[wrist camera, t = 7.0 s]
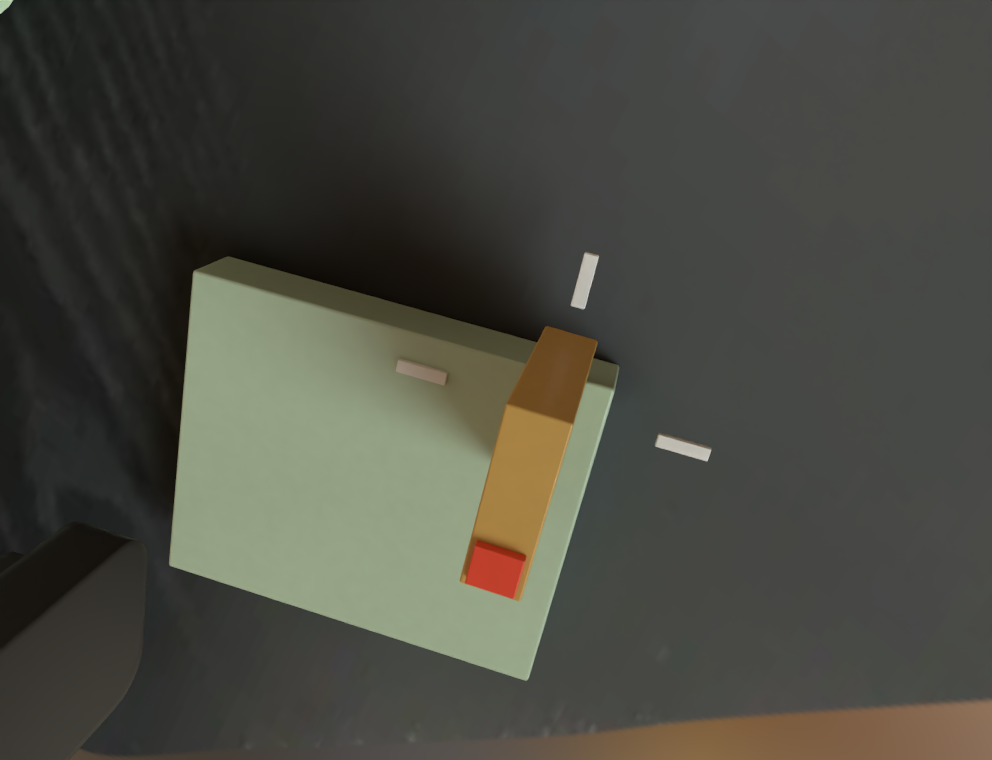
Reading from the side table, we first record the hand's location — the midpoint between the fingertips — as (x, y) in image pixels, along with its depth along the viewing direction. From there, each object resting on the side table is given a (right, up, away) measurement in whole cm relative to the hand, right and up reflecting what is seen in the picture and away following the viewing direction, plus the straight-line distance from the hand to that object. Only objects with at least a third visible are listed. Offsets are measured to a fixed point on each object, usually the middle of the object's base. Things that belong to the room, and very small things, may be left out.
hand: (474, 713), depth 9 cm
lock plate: (-1, +2, +16) cm, 17 cm away
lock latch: (+2, +3, +13) cm, 14 cm away
